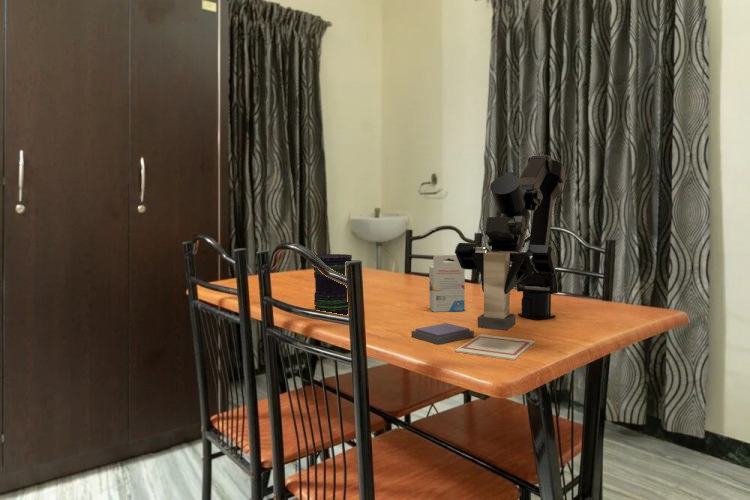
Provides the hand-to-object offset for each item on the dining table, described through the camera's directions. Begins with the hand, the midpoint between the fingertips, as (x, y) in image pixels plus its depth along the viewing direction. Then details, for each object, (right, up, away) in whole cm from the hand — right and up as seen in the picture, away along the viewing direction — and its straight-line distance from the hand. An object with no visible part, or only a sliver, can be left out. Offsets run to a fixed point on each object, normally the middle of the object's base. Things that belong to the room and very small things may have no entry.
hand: (494, 291), depth 94 cm
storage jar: (-33, -9, +35) cm, 49 cm away
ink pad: (-8, -10, +10) cm, 16 cm away
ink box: (-3, -8, +39) cm, 40 cm away
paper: (+1, -11, +2) cm, 11 cm away
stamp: (+1, -7, +2) cm, 7 cm away
